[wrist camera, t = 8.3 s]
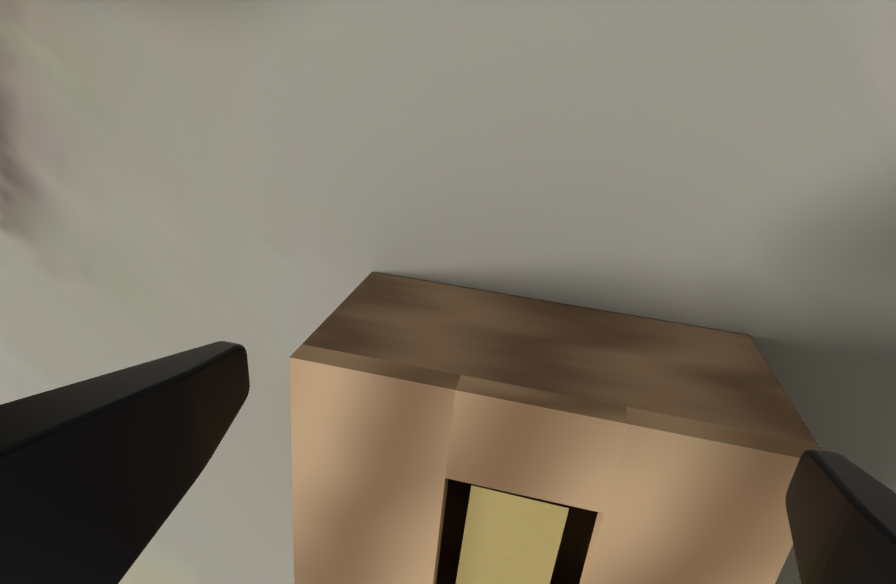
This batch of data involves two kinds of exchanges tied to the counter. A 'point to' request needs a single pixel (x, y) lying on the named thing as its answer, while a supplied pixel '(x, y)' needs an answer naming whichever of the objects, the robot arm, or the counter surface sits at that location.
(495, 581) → the block
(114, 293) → the counter surface
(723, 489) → the tan block with hole
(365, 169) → the counter surface
